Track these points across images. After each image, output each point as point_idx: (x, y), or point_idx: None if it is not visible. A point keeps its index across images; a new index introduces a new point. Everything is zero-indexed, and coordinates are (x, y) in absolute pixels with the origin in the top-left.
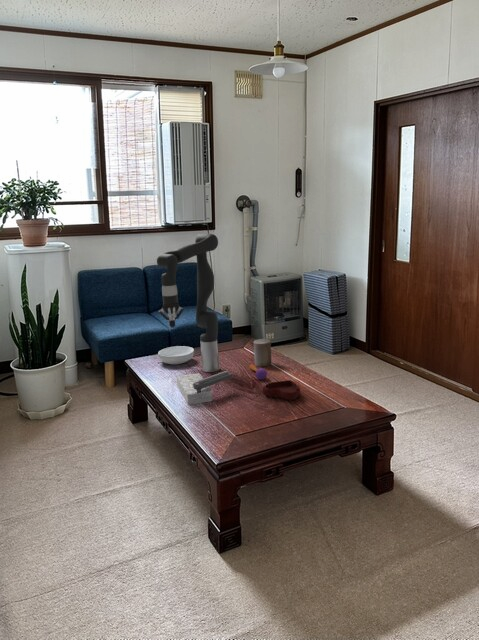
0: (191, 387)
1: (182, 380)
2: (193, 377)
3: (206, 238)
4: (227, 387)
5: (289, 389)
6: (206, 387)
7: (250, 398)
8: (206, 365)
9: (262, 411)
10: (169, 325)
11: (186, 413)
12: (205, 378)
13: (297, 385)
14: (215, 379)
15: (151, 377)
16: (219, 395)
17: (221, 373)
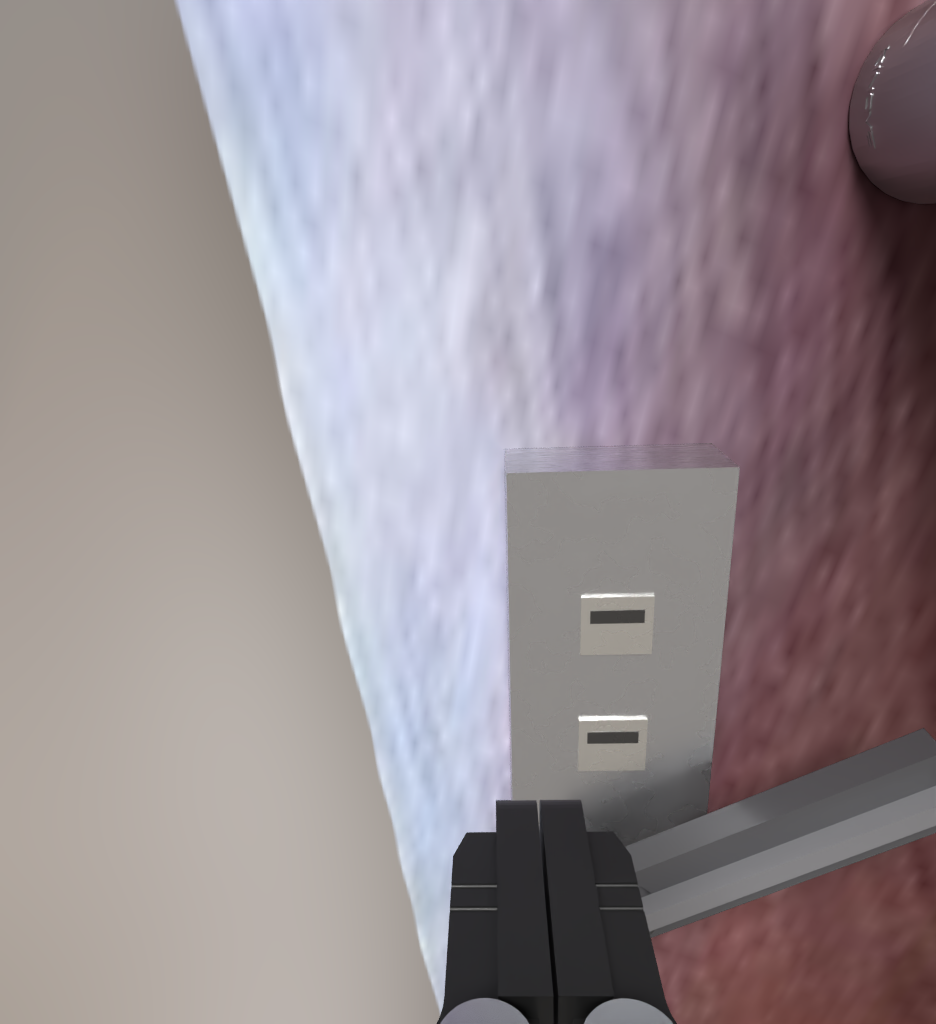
0: (575, 774)
1: (538, 603)
2: (652, 566)
3: None
4: (876, 643)
5: None
6: (685, 814)
7: (925, 870)
8: (915, 177)
9: None
10: (456, 859)
11: None
12: (697, 902)
13: None
14: (778, 885)
15: (284, 112)
16: (757, 761)
17: (872, 848)
